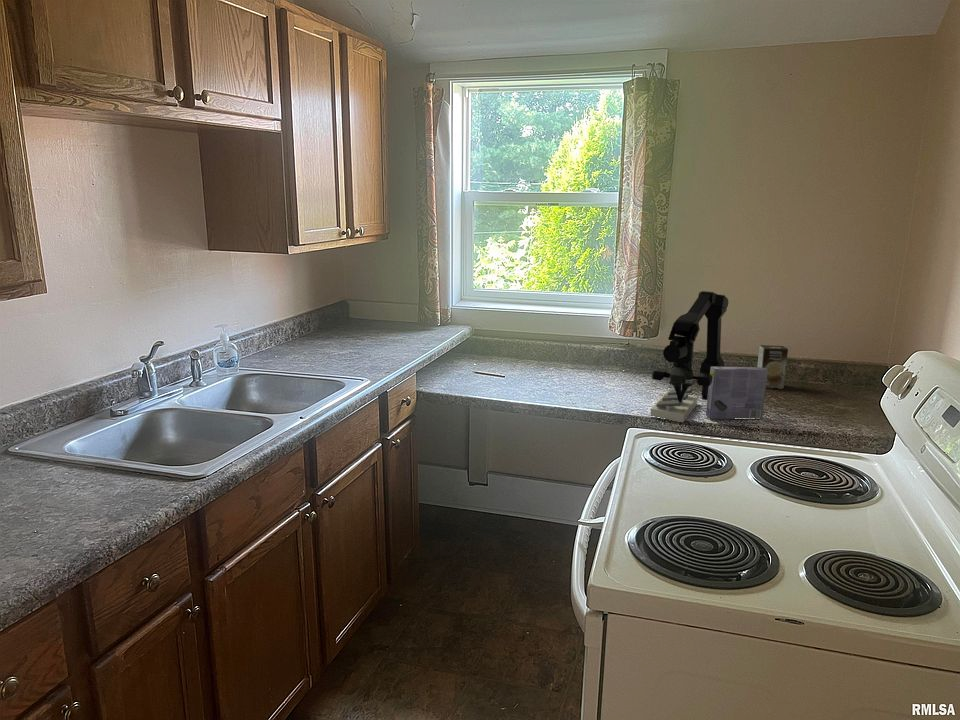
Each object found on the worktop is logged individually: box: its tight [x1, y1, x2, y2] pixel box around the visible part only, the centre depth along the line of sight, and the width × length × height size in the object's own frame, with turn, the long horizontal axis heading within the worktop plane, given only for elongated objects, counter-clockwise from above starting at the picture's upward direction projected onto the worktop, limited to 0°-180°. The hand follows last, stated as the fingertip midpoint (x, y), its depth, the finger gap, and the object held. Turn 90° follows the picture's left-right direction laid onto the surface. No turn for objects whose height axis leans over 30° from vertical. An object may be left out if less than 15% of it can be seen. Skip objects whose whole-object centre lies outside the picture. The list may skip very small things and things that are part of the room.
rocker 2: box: [661, 394, 689, 401], centre depth 240 cm, size 8×4×1 cm, turn 62°
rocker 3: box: [655, 400, 683, 407], centre depth 233 cm, size 8×4×1 cm, turn 62°
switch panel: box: [649, 391, 698, 423], centre depth 240 cm, size 11×23×4 cm, turn 152°
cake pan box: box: [705, 366, 768, 420], centre depth 231 cm, size 19×5×18 cm, turn 92°
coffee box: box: [756, 344, 789, 390], centre depth 269 cm, size 9×6×16 cm
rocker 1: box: [667, 387, 693, 395], centre depth 247 cm, size 8×4×1 cm, turn 62°
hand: (680, 401), depth 231 cm, fingers closed
